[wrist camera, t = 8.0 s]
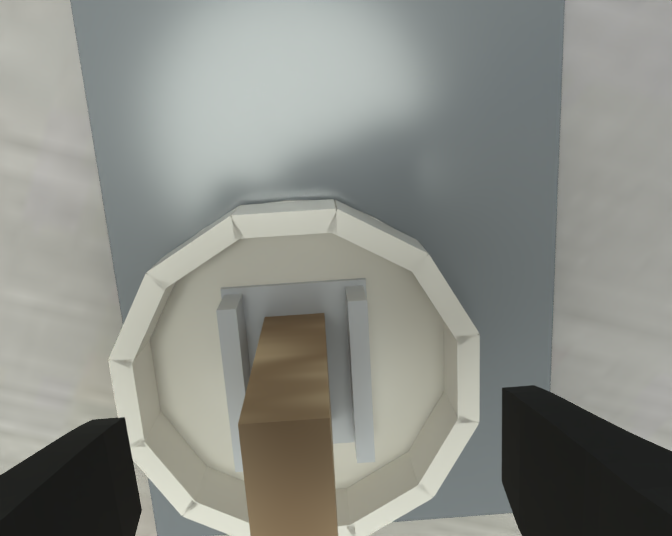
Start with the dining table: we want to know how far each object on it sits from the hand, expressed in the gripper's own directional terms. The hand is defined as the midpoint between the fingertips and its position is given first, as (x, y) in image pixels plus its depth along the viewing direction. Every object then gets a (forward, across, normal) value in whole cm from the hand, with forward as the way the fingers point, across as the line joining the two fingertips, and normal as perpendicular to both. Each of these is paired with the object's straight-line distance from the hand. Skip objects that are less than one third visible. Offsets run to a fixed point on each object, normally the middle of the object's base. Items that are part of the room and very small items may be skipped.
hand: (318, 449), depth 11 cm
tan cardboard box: (+9, +1, +2) cm, 9 cm away
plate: (+9, +1, +2) cm, 10 cm away
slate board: (+10, -1, -4) cm, 11 cm away
